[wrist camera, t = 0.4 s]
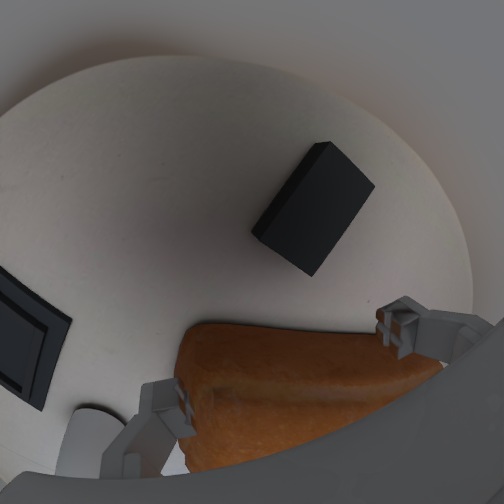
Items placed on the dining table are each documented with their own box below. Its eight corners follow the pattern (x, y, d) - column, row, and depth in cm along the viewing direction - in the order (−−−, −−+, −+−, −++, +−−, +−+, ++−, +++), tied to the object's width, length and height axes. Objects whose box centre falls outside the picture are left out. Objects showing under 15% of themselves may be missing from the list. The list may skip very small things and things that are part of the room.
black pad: (299, 265, 27) (312, 277, 24) (250, 231, 25) (258, 240, 22) (357, 183, 26) (375, 186, 23) (315, 142, 24) (330, 140, 21)
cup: (120, 401, 27) (109, 502, 14) (138, 439, 30) (137, 525, 16) (62, 397, 25) (35, 485, 12) (84, 435, 28) (72, 514, 15)
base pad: (43, 407, 25) (39, 418, 23) (-32, 352, 20) (-38, 360, 18) (72, 319, 23) (65, 330, 21) (-22, 246, 18) (-33, 252, 16)
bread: (183, 311, 26) (193, 453, 11) (418, 331, 35) (489, 389, 20) (168, 406, 29) (176, 521, 14) (378, 400, 38) (429, 463, 24)
